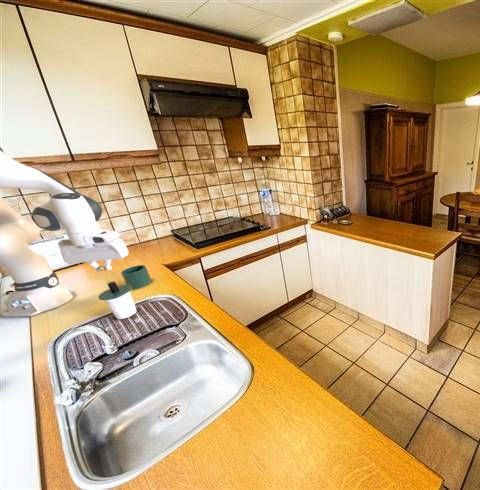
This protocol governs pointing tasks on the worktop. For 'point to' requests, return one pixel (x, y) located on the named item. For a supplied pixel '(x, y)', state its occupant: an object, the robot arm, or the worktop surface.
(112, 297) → the lid
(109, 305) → the white cup
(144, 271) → the pot
